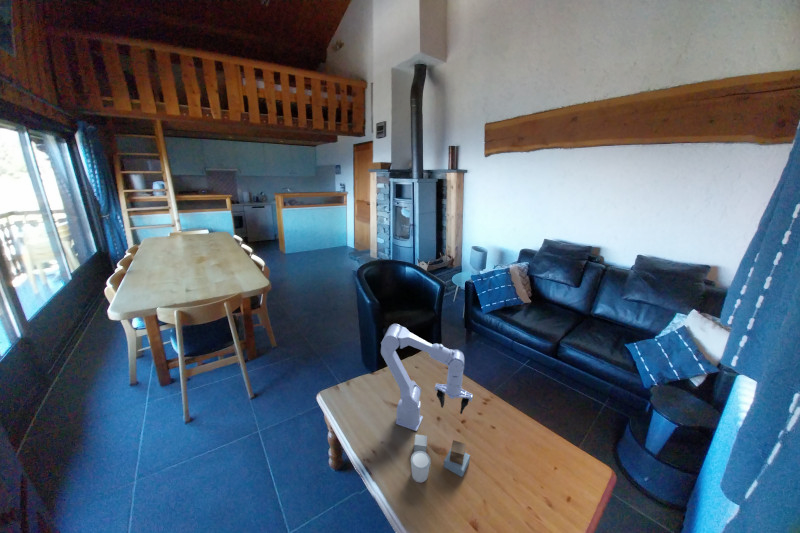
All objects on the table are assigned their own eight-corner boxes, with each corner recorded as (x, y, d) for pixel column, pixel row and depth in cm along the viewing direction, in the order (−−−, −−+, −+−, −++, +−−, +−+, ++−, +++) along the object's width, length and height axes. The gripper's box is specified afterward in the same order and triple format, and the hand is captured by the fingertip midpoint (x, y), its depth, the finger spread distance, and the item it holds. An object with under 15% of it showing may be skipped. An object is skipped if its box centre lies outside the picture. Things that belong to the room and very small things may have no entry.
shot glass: (424, 488, 101) (424, 473, 98) (406, 477, 104) (406, 462, 102) (433, 471, 106) (434, 457, 104) (416, 461, 110) (416, 447, 107)
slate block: (443, 467, 108) (444, 460, 107) (451, 452, 114) (452, 445, 112) (462, 478, 104) (463, 470, 103) (469, 462, 110) (470, 455, 109)
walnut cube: (449, 461, 107) (450, 450, 105) (452, 450, 111) (452, 440, 109) (462, 465, 105) (463, 454, 104) (464, 454, 109) (465, 443, 108)
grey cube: (413, 454, 112) (414, 444, 111) (415, 444, 116) (415, 434, 115) (425, 456, 112) (426, 446, 110) (426, 445, 116) (427, 435, 114)
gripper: (433, 382, 115) (431, 410, 119) (471, 393, 109) (468, 422, 114) (438, 371, 121) (436, 398, 125) (475, 381, 115) (471, 409, 120)
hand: (451, 408), depth 120 cm, fingers open, 7 cm apart
